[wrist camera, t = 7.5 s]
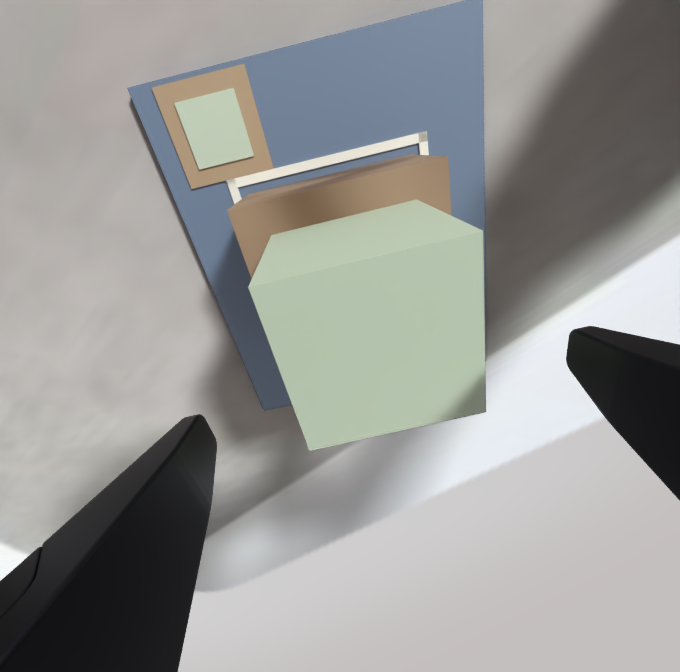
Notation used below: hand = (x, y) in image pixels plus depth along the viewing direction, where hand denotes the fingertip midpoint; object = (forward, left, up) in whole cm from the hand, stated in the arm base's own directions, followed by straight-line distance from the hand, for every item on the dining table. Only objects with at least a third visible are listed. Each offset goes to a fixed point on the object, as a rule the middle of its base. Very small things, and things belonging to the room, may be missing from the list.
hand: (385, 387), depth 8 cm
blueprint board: (0, 0, -12) cm, 12 cm away
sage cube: (0, 0, -7) cm, 7 cm away
